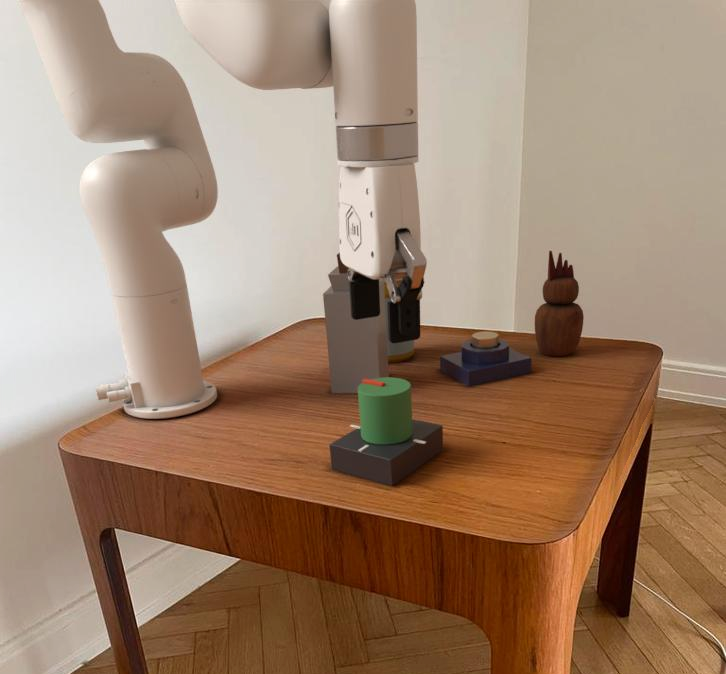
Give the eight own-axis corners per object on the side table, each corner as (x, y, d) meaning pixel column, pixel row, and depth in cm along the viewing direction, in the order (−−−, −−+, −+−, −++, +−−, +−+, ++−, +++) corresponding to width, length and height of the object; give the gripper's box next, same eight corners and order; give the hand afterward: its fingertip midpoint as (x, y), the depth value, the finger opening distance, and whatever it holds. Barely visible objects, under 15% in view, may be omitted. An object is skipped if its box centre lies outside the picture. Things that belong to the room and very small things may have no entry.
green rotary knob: (422, 430, 81) (421, 379, 78) (392, 449, 77) (390, 396, 74) (381, 420, 84) (378, 371, 81) (350, 438, 80) (346, 387, 78)
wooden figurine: (535, 360, 108) (539, 254, 102) (532, 348, 114) (536, 246, 107) (583, 359, 108) (591, 252, 101) (577, 347, 113) (584, 244, 106)
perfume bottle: (380, 393, 100) (372, 256, 92) (331, 393, 102) (319, 258, 94) (388, 376, 106) (382, 246, 98) (342, 376, 108) (332, 247, 99)
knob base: (399, 488, 76) (398, 460, 74) (325, 467, 81) (322, 441, 80) (450, 451, 83) (449, 425, 81) (378, 434, 88) (377, 410, 87)
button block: (468, 386, 101) (468, 358, 99) (440, 370, 107) (439, 343, 105) (531, 373, 104) (532, 345, 102) (499, 358, 110) (500, 331, 109)
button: (480, 352, 102) (480, 340, 101) (467, 346, 105) (467, 334, 104) (503, 348, 103) (503, 335, 102) (489, 341, 106) (489, 329, 105)
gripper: (308, 145, 75) (321, 314, 83) (377, 154, 60) (385, 357, 68) (377, 140, 77) (383, 305, 85) (459, 147, 63) (457, 344, 71)
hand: (384, 328), depth 77 cm, fingers open, 9 cm apart
